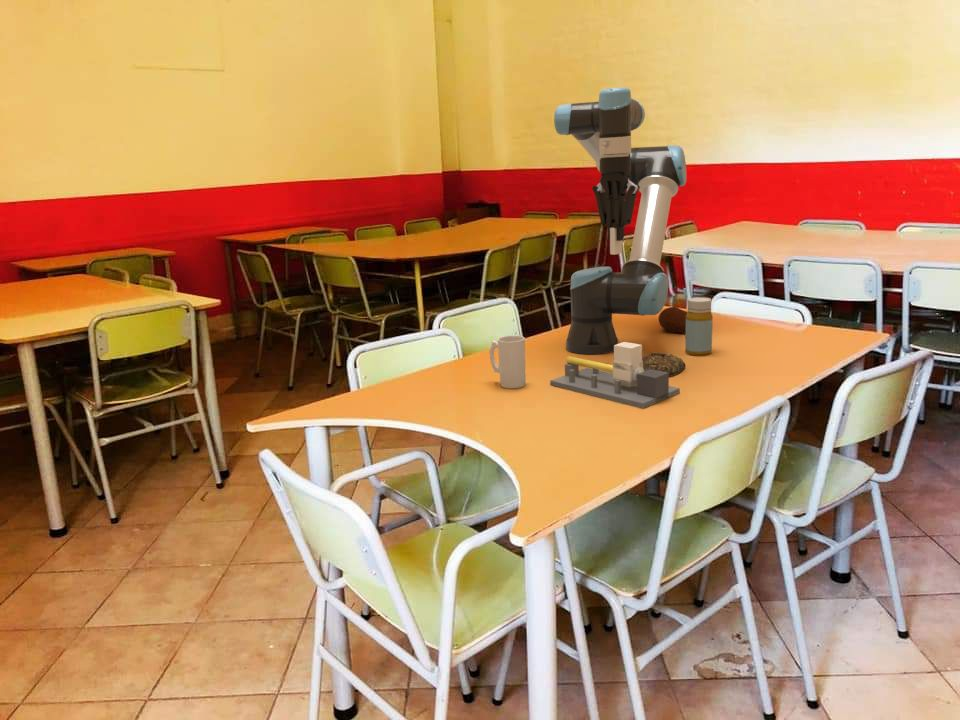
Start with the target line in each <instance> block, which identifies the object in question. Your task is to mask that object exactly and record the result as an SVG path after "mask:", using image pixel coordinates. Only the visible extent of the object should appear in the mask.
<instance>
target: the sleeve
mask: <svg viewBox="0 0 960 720" xmlns="http://www.w3.org/2000/svg"><path fill="white" fill-rule="evenodd" d="M642 357H643V344H639V343H634V342H627V341H623V342H620V343H619V342H618V344H616V345H614V351H613V362H612V365H613V373H612V374H613V383H614V384H615V380H621V385H622V386H627V387H633V386H635V385H637V382H636V381H634V380H633V378H632V373H633V370H634V369H635V368H636V367H641V368H643V361H642Z"/></svg>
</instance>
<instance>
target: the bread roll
mask: <svg viewBox="0 0 960 720" xmlns="http://www.w3.org/2000/svg"><path fill="white" fill-rule="evenodd" d="M642 361H643V369H644V371H647V370H649V369H652V370H657V371H662V372H667V373H669V377H673V376H675V375H678V374H680V373H682V371H683V370H685V369H686V366H687V365H686V363H685V361H684V360H683V359H682V358H681V357H679V356H676V355H674V354H672V353H668V352H657V351H655V352H650V353H647V354H645V355H643V356H642Z"/></svg>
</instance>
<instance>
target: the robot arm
mask: <svg viewBox="0 0 960 720" xmlns="http://www.w3.org/2000/svg"><path fill="white" fill-rule="evenodd" d="M645 112H646V111H645V108H644V106H643V104H642V103H640V101H637V100H636V99H634V98H632V93H631V89H630V88H629V87H612V88H605V89H604V88H603V89H601V90H600V91H599V94H598V101H591V102H590V101H589V102H575V103H574V102H573V103H572V102H570V103H567V104H560V105H558V106H557V107H556V109H555V110H554V116H553V123H554V129H555V131H556V133H557V134H558V135H561V136H570V135H572V137H573V138H574V139H575V140H576V141H577V142H578V143H579V144H580V146H582V148H583V149H584V150H585V151H586V152H587V153H588V155H589V156H590V157H591V159H593V160H594V162H595V166H596V168H597V170H598V172H599V173H600V174H601V175H600V179H599V183H598V184H597V185H593V186H592V188H591V189H592V192H593V194H594V195H595V199H596V205H597V210H598V215H599V219H600V224H601V225H604V226H606V228H607V239H608V241H609V254H610V255H612V256H613V255H614V256H615V255H621V254H622V253H623V251H622V249H623V243H622V242H623V241H624V238H625V230H624V229H625V227H626V226H628V225H631V224H632V223H631V222H632V219H633V215H634V209H635V203H636V197H637V194H638V192H640V193H641V196H640V202H639V206H638V211H637V217H636V223H635V229H634V233H633V239H632V244H631V249H630V255H629V260H628V261H626V262H624V264H623V265H622V269H621V272H613V269H612V267H611V266H597V267H589V268H585V269H581V270H578V271H575V272H573V274H572V275H571V277H570V287H569V290H570V310H571V311H570V313H571V318H570V319H571V322H570V326H569V330H568V333H567V338H566V340H565V345H566V346H565V348H566V350H567V351H568V352H570V353H574V354H581V355H582V354H583V355H599V354H600V355H601V354H607V353H612V352H614V345H616V344H619V339H618V337H617V332H616V330H615V325H614V323H613V315H630V316H631V315H633V316H641V317H642V316H643V317H644V316H645V317H646V316H655V315H657V314H660V313H661V312H662V311H663V310H664V309H663V308H664V306H665V304H666V301H667V298H668V293H669V277H668V275H667V274H666V273H665V270H664V268H663V267H662V266H661V259H662V255H663V248H664V242H665V237H666V230H667V224H668V220H669V213H670V206H671V201H672V198H673V197H675V196H676V195H677V193H678V191H679V187H683V186H684V187H685V185H686V183H687V164H686V157H685V156H686V155H685V152H684V150H683V148H682V147H681V146H680V145H669V144H667V145H662V146H658V145H657V146H640V147H632V131H634V130H635V131H636V130H637V129H638V128H640V127H641V125H642V124H643V123H644V120H645V116H646V113H645Z"/></svg>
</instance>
